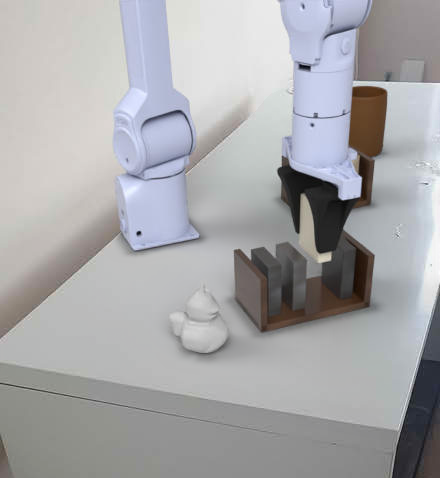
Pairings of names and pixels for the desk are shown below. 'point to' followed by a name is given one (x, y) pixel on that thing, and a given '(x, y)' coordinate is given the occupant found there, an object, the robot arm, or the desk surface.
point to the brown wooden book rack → (362, 168)
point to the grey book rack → (302, 284)
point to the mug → (368, 119)
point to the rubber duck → (200, 323)
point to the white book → (309, 232)
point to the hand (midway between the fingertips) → (315, 241)
